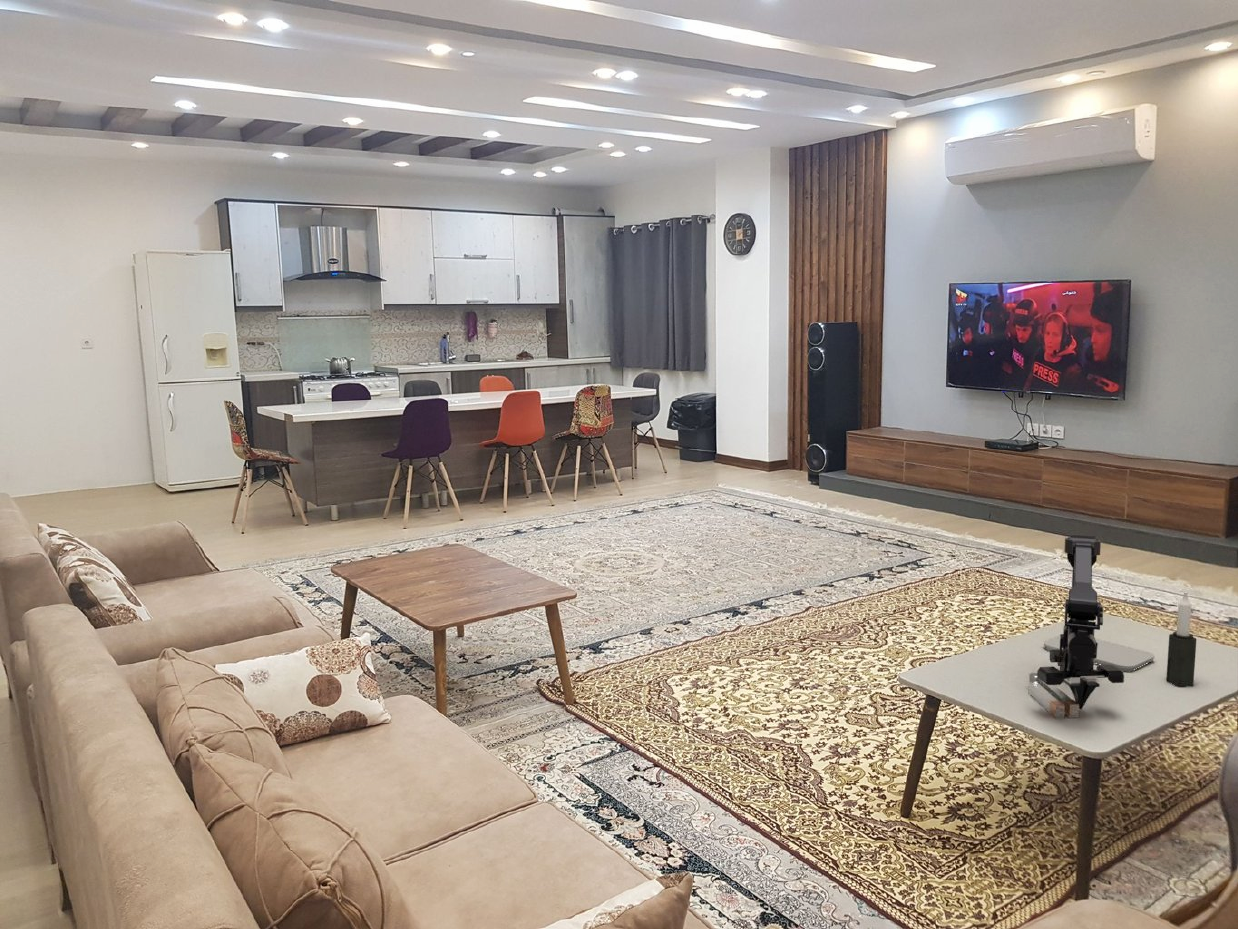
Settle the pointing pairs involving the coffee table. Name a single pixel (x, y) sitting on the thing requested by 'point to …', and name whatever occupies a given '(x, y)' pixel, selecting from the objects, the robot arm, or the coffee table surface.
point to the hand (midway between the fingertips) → (1079, 708)
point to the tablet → (1112, 654)
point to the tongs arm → (1063, 700)
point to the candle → (1182, 648)
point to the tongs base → (1045, 697)
